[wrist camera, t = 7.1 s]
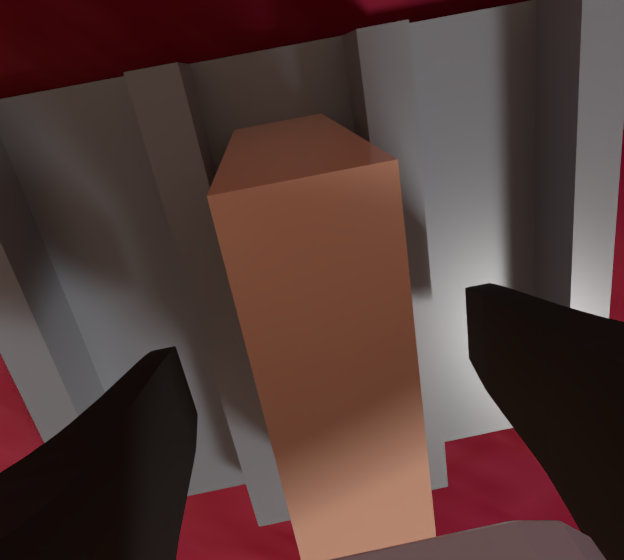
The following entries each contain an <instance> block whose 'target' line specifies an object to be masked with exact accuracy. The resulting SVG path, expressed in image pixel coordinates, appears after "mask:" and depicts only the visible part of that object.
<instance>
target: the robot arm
mask: <svg viewBox="0 0 624 560" xmlns="http://www.w3.org/2000/svg"><path fill="white" fill-rule="evenodd" d="M465 295H466V313H467V332H468V351H469V360H470V361H471V363H472V365H473V367H474V369H475V371H476V373H477V375H478V377H479V379H480V380H481V382H482V384H483V386H484V388H485V389H486V391H487V392H488V394H489V395H490V397H491V398H492V399H493V401H494V402H495V403H496V405H497V406H498V408H499V409H500V410H501V412H502V413H503V414H504V416H505V417H506V418H507V420H508V421H509V422H510V424H511V425H512V426H513V428H514V429H515V430H516V432H517V433H518V434H519V436H520V437H521V438H522V440H523V441H524V442H525V444H526V445H527V446H528V448H529V449H530V450H531V452H532V453H533V454H534V456H535V457H536V458H537V460H538V461H539V463H540V464H541V466H542V467H543V469H544V470H545V472H546V473H547V474H548V476H549V478H550V479H551V481H552V483H553V484H554V486H555V488H556V489H557V491H558V493H559V494H560V496H561V498H562V500H563V501H564V503H565V505H566V506H567V508H568V510H569V511H570V513H571V515H572V517H573V518H574V520H575V522H576V524H577V526H578V527H579V529H580V531H581V532H580V531H578V530H576V529H574V528H572V527H570V526H568V525H567V524H565V523H563V522H561V521H556V520H518V521H508V522H503V523H498V524H494V525H489V526H484V527H479V528H475V529H470V530H465V531H461V532H456V533H451V534H447V535H442V536H437V537H433V538H428V539H423V540H419V541H414V542H409V543H405V544H400V545H395V546H391V547H386V548H381V549H377V550H372V551H367V552H363V553H358V554H353V555H349V556H344V557H339V558H335V559H330V560H624V322H622V321H617V320H613V319H609V318H605V317H601V316H597V315H594V314H590V313H586V312H583V311H579V310H576V309H572V308H569V307H566V306H563V305H559V304H556V303H553V302H550V301H547V300H544V299H541V298H538V297H535V296H532V295H529V294H526V293H523V292H520V291H517V290H514V289H511V288H507V287H504V286H501V285H497V284H492V283H487V284H482V285H477V286H472V287H467V288H465ZM197 420H198V413H197V410H196V407H195V404H194V401H193V398H192V395H191V392H190V389H189V385H188V382H187V379H186V376H185V373H184V370H183V367H182V364H181V361H180V358H179V355H178V352H177V349H176V346H173V347H168V348H163V349H158V350H153V351H150V352H149V353H148V354H146V355H145V356H144V357H143V358H141V359H140V360H139V361H138V362H137V363H136V364H135V365H134V366H133V367H132V368H131V369H130V370H128V371H127V372H126V373H125V374H124V375H123V376H122V377H121V378H120V379H119V380H118V381H117V382H116V383H115V384H114V385H113V386H112V387H111V388H109V389H108V390H107V391H106V392H105V393H104V394H103V395H102V396H101V397H100V398H99V399H98V400H96V401H95V402H94V403H93V404H92V405H91V406H89V407H88V408H87V409H86V410H85V411H84V412H83V413H81V414H80V415H79V416H78V417H77V418H76V419H75V420H73V421H72V422H71V423H70V424H69V425H67V426H66V427H65V428H64V429H62V430H61V431H60V432H59V433H57V434H56V435H55V436H53V437H52V438H51V439H49V440H48V441H47V442H45V443H44V444H43V445H41V446H40V447H38V448H37V449H36V450H34V451H33V452H32V453H30V454H29V455H27V456H26V457H24V458H23V459H21V460H20V461H18V462H17V463H15V464H13V465H12V466H10V467H9V468H7V469H6V470H4V471H2V472H1V473H0V560H176V554H177V548H178V541H179V535H180V530H181V525H182V520H183V514H184V509H185V504H186V499H187V494H188V489H189V484H190V479H191V474H192V469H193V464H194V458H195V453H196V442H197Z"/></svg>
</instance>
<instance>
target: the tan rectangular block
mask: <svg viewBox="0 0 624 560" xmlns="http://www.w3.org/2000/svg"><path fill="white" fill-rule="evenodd" d="M207 199H208V203H209V207H210V211H211V214H212V218H213V222H214V226H215V230H216V234H217V237H218V241H219V245H220V249H221V253H222V257H223V261H224V264H225V268H226V272H227V276H228V280H229V284H230V288H231V291H232V295H233V299H234V303H235V307H236V311H237V314H238V318H239V322H240V326H241V330H242V334H243V338H244V341H245V345H246V349H247V353H248V357H249V361H250V365H251V368H252V372H253V376H254V380H255V384H256V388H257V391H258V395H259V399H260V403H261V407H262V411H263V415H264V418H265V422H266V426H267V430H268V434H269V438H270V441H271V445H272V449H273V453H274V457H275V461H276V465H277V468H278V472H279V476H280V480H281V484H282V488H283V492H284V495H285V499H286V503H287V507H288V511H289V515H290V518H291V522H292V526H293V530H294V534H295V538H296V542H297V545H298V549H299V553H300V557H301V560H330V559H335V558H339V557H344V556H349V555H353V554H358V553H363V552H367V551H372V550H377V549H381V548H386V547H391V546H395V545H400V544H405V543H409V542H414V541H419V540H423V539H428V538H433V537H436V531H435V522H434V512H433V502H432V492H431V482H430V472H429V462H428V452H427V443H426V433H425V423H424V413H423V403H422V393H421V383H420V373H419V363H418V354H417V344H416V334H415V324H414V314H413V304H412V294H411V284H410V274H409V265H408V255H407V245H406V235H405V225H404V215H403V205H402V195H401V186H400V176H399V166H398V159H397V158H395V157H393V156H392V155H390V154H388V153H387V152H385V151H383V150H382V149H380V148H378V147H377V146H375V145H373V144H371V143H370V142H368V141H366V140H365V139H363V138H361V137H360V136H358V135H356V134H355V133H353V132H351V131H350V130H348V129H346V128H345V127H343V126H341V125H340V124H338V123H336V122H335V121H333V120H331V119H330V118H328V117H326V116H325V115H323V114H321V113H320V114H315V115H310V116H304V117H299V118H294V119H288V120H283V121H278V122H273V123H267V124H262V125H257V126H252V127H246V128H241V129H236V130H234V132H233V134H232V136H231V139H230V141H229V144H228V146H227V149H226V151H225V153H224V156H223V158H222V161H221V163H220V165H219V168H218V170H217V173H216V175H215V178H214V180H213V182H212V185H211V187H210V190H209V192H208V194H207Z"/></svg>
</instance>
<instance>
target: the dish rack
mask: <svg viewBox="0 0 624 560" xmlns="http://www.w3.org/2000/svg"><path fill="white" fill-rule="evenodd" d="M123 73H124V76H122V77H116V78H111V79H106V80H100V81H95V82H89V83H84V84H79V85H73V86H68V87H63V88H57V89H52V90H46V91H41V92H36V93H30V94H25V95H20V96H14V97H9V98H3V99H0V353H1V355H2V357H3V359H4V362H5V364H6V366H7V368H8V370H9V372H10V374H11V376H12V378H13V380H14V382H15V384H16V386H17V388H18V390H19V392H20V394H21V396H22V398H23V400H24V402H25V404H26V406H27V408H28V410H29V412H30V414H31V417H32V419H33V421H34V423H35V425H36V427H37V429H38V431H39V433H40V435H41V437H42V439H43V441H44V443H45V442H47V441H48V440H49V439H51V438H52V437H53V436H55V435H56V434H57V433H59V432H60V431H61V430H62V429H64V428H65V427H66V426H67V425H69V424H70V423H71V422H72V421H73V420H75V419H76V418H77V417H78V416H79V415H80V414H81V413H83V412H84V411H85V410H86V409H87V408H88V407H89V406H91V405H92V404H93V403H94V402H95V401H96V400H98V399H99V398H100V397H101V396H102V395H103V394H104V393H105V392H106V391H107V390H108V389H109V388H111V387H112V386H113V385H114V384H115V383H116V382H117V381H118V380H119V379H120V378H121V377H122V376H123V375H124V374H125V373H126V372H127V371H128V370H130V369H131V368H132V367H133V366H134V365H135V364H136V363H137V362H138V361H139V360H140V359H141V358H143V357H144V356H145V355H146V354H148V353H149V352H150V351H153V350H158V349H163V348H168V347H173V346H176V349H177V352H178V355H179V358H180V361H181V364H182V367H183V370H184V373H185V376H186V379H187V382H188V385H189V389H190V392H191V395H192V398H193V401H194V404H195V407H196V410H197V413H198V420H197V442H196V453H195V458H194V464H193V469H192V474H191V479H190V484H189V489H188V494H187V496H190V495H195V494H199V493H204V492H209V491H214V490H218V489H223V488H228V487H233V486H237V485H242V484H246V486H247V489H248V492H249V496H250V499H251V502H252V506H253V509H254V512H255V516H256V519H257V522H258V526H259V527H260V526H265V525H269V524H274V523H279V522H283V521H288V520H291V518H290V515H289V511H288V507H287V503H286V499H285V495H284V492H283V488H282V484H281V480H280V476H279V472H278V468H277V465H276V461H275V457H274V453H273V449H272V445H271V441H270V438H269V434H268V430H267V426H266V422H265V418H264V415H263V411H262V407H261V403H260V399H259V395H258V391H257V388H256V384H255V380H254V376H253V372H252V368H251V365H250V361H249V357H248V353H247V349H246V345H245V341H244V338H243V334H242V330H241V326H240V322H239V318H238V314H237V311H236V307H235V303H234V299H233V295H232V291H231V288H230V284H229V280H228V276H227V272H226V268H225V264H224V261H223V257H222V253H221V249H220V245H219V241H218V237H217V234H216V230H215V226H214V222H213V218H212V214H211V211H210V207H209V203H208V199H207V194H208V192H209V190H210V187H211V185H212V182H213V180H214V178H215V175H216V173H217V170H218V168H219V165H220V163H221V161H222V158H223V156H224V153H225V151H226V149H227V146H228V144H229V141H230V139H231V136H232V134H233V132H234V130H236V129H241V128H246V127H252V126H257V125H262V124H267V123H273V122H278V121H283V120H288V119H294V118H299V117H304V116H310V115H315V114H320V113H321V114H323V115H325V116H326V117H328V118H330V119H331V120H333V121H335V122H336V123H338V124H340V125H341V126H343V127H345V128H346V129H348V130H350V131H351V132H353V133H355V134H356V135H358V136H360V137H361V138H363V139H365V140H366V141H368V142H370V143H371V144H373V145H375V146H377V147H378V148H380V149H382V150H383V151H385V152H387V153H388V154H390V155H392V156H393V157H395V158H397V159H398V166H399V176H400V186H401V195H402V205H403V215H404V225H405V235H406V245H407V255H408V265H409V274H410V284H411V294H412V304H413V314H414V324H415V334H416V344H417V354H418V363H419V373H420V383H421V393H422V403H423V413H424V423H425V433H426V443H427V452H428V462H429V472H430V482H431V490H434V489H438V488H443V487H448V481H447V469H446V457H445V445H444V442H447V441H451V440H456V439H461V438H466V437H470V436H475V435H480V434H485V433H489V432H494V431H499V430H504V429H508V428H513V426H512V425H511V424H510V422H509V421H508V420H507V418H506V417H505V416H504V414H503V413H502V412H501V410H500V409H499V408H498V406H497V405H496V403H495V402H494V401H493V399H492V398H491V397H490V395H489V394H488V392H487V391H486V389H485V388H484V386H483V384H482V382H481V380H480V379H479V377H478V375H477V373H476V371H475V369H474V367H473V365H472V363H471V361H470V360H469V351H468V332H467V313H466V295H465V288H467V287H472V286H477V285H482V284H487V283H492V284H497V285H501V286H504V287H507V288H511V289H514V290H517V291H520V292H523V293H526V294H529V295H532V296H535V297H538V298H541V299H544V300H547V301H550V302H553V303H556V304H559V305H563V306H566V307H569V308H572V309H576V310H579V311H583V312H586V313H590V314H594V315H597V316H601V317H605V318H609V310H610V296H611V283H612V270H613V256H614V243H615V230H616V216H617V203H618V189H619V176H620V163H621V149H622V136H623V123H624V0H531V1H525V2H520V3H515V4H509V5H504V6H498V7H493V8H488V9H482V10H477V11H472V12H466V13H461V14H455V15H450V16H445V17H439V18H434V19H428V20H423V21H418V22H412V23H409V19H407V20H402V21H397V22H391V23H386V24H380V25H375V26H370V27H364V28H359V29H355V30H353V31H351V32H349V33H346V34H344V35H342V36H337V37H332V38H326V39H321V40H315V41H310V42H305V43H299V44H294V45H289V46H283V47H278V48H272V49H267V50H262V51H256V52H251V53H246V54H240V55H235V56H229V57H224V58H219V59H213V60H208V61H202V62H197V63H192V64H186V63H180V62H176V63H170V64H165V65H160V66H154V67H149V68H143V69H138V70H133V71H127V72H123Z"/></svg>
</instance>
